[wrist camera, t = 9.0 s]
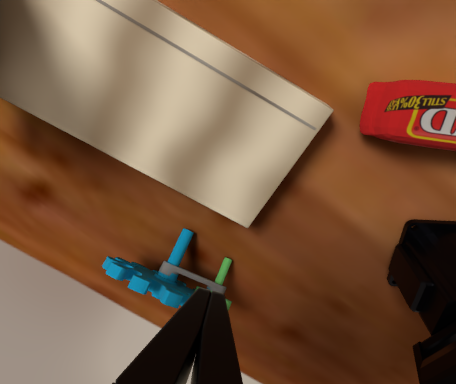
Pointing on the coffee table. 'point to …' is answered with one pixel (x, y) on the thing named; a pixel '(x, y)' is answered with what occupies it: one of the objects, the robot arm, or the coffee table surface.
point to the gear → (166, 275)
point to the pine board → (158, 96)
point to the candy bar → (411, 113)
